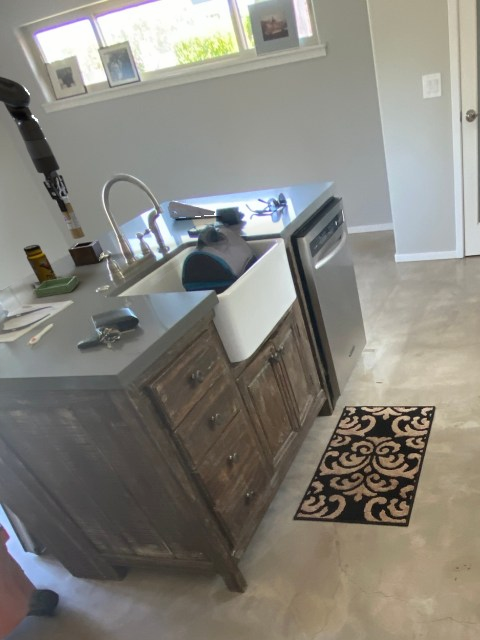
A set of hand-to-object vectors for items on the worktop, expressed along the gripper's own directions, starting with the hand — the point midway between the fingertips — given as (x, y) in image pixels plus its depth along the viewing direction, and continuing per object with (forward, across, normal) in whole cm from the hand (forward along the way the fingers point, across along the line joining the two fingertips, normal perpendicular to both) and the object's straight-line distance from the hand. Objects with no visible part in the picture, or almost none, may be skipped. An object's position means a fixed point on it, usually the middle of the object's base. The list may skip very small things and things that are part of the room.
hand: (66, 209), depth 192 cm
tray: (+18, +34, -2) cm, 38 cm away
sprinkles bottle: (+10, 0, 0) cm, 10 cm away
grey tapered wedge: (+18, -51, +38) cm, 66 cm away
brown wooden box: (+18, 0, 0) cm, 18 cm away
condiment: (+18, +22, -10) cm, 30 cm away
